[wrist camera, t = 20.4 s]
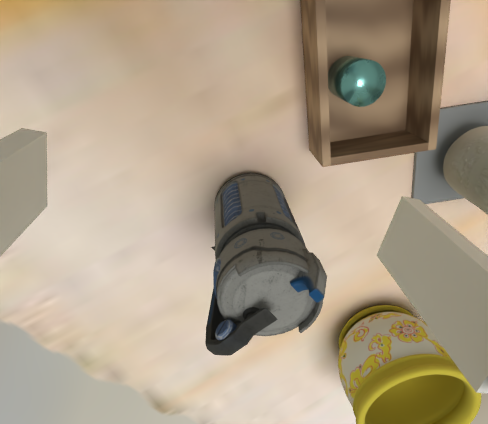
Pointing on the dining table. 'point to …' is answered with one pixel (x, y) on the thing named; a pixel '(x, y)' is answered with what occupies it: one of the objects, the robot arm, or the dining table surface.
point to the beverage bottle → (259, 267)
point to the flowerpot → (401, 371)
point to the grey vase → (469, 166)
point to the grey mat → (444, 151)
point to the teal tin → (356, 80)
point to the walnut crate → (396, 69)
